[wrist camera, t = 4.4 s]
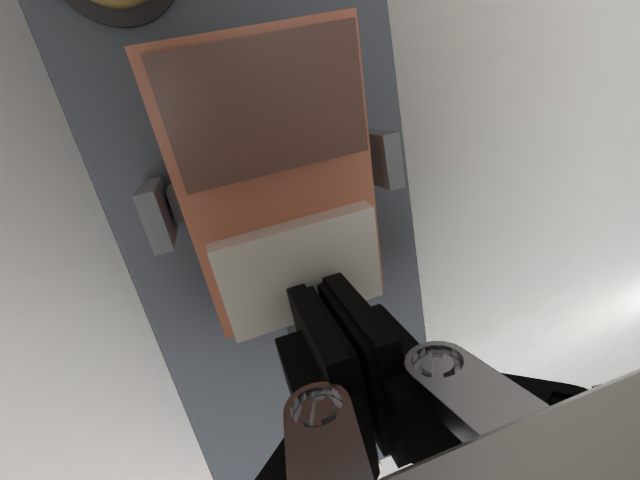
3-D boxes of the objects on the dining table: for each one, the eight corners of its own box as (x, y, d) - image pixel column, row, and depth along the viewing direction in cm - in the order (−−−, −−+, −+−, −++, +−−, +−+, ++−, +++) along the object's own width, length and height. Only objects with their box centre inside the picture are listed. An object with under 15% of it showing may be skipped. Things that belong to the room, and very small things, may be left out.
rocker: (129, 46, 9) (120, 46, 8) (341, 11, 10) (366, 4, 9) (223, 320, 13) (228, 352, 11) (370, 273, 14) (392, 297, 12)
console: (-44, -237, 10) (-272, -566, 5) (318, -247, 13) (402, -492, 7) (226, 466, 20) (236, 590, 15) (409, 394, 22) (474, 480, 17)
